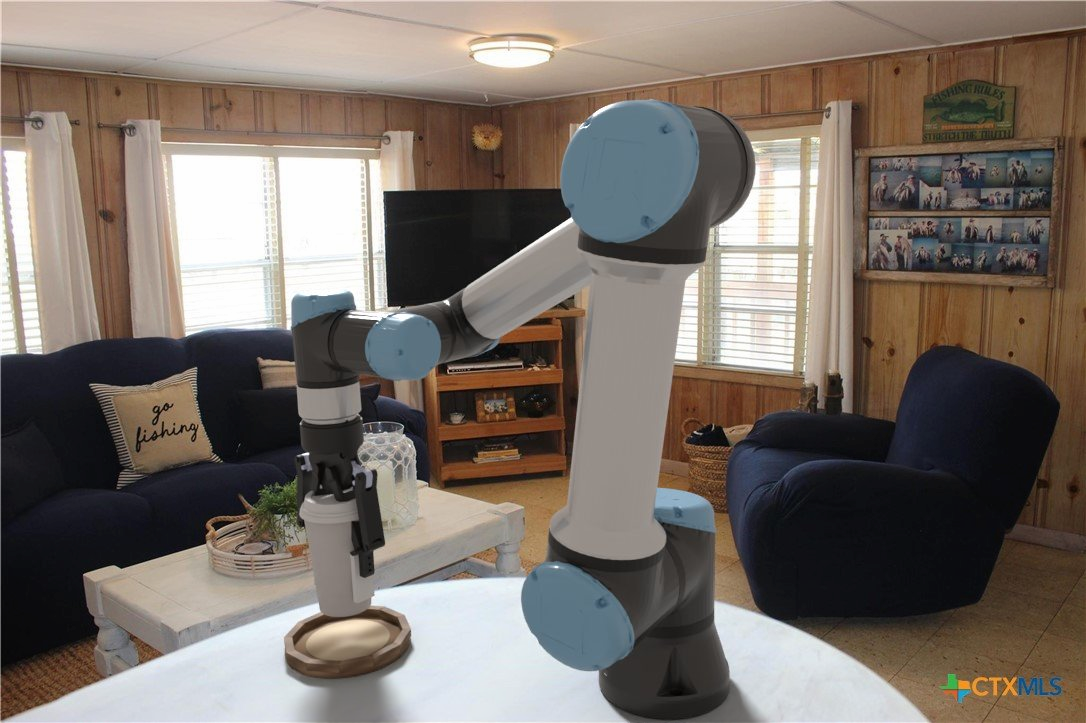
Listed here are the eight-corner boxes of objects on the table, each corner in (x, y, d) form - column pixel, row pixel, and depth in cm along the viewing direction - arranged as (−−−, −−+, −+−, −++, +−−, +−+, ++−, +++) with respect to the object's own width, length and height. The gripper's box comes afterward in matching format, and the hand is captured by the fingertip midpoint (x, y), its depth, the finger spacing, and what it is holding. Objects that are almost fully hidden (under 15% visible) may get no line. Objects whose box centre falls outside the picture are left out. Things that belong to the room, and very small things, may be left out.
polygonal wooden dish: (435, 639, 117) (434, 627, 116) (336, 693, 105) (335, 678, 105) (359, 606, 127) (358, 594, 126) (260, 651, 115) (259, 638, 115)
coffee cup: (391, 589, 119) (385, 481, 116) (371, 624, 110) (363, 507, 107) (322, 588, 120) (313, 481, 117) (295, 622, 111) (286, 506, 108)
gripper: (409, 421, 106) (419, 601, 111) (307, 399, 119) (320, 561, 124) (358, 436, 101) (371, 624, 105) (257, 411, 114) (272, 579, 118)
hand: (343, 589), depth 114 cm, fingers closed on coffee cup, 7 cm apart
